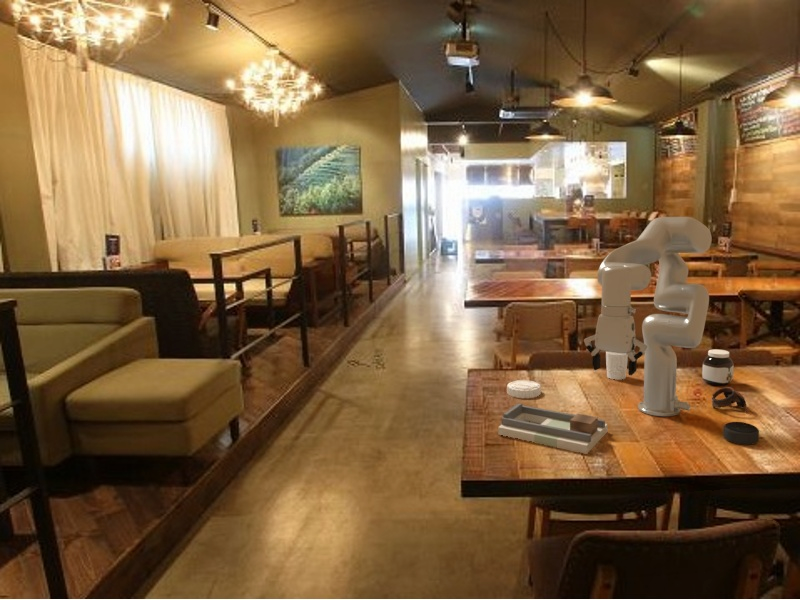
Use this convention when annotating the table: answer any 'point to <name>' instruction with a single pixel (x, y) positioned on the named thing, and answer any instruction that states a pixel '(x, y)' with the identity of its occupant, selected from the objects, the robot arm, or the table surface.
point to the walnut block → (584, 424)
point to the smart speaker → (741, 433)
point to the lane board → (548, 428)
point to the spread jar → (718, 368)
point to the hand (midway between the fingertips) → (613, 371)
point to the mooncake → (523, 389)
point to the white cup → (616, 365)
